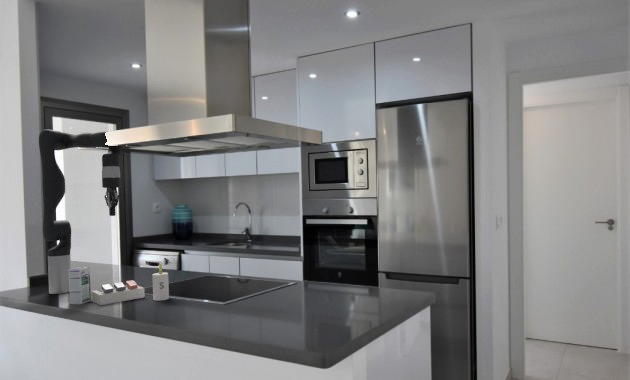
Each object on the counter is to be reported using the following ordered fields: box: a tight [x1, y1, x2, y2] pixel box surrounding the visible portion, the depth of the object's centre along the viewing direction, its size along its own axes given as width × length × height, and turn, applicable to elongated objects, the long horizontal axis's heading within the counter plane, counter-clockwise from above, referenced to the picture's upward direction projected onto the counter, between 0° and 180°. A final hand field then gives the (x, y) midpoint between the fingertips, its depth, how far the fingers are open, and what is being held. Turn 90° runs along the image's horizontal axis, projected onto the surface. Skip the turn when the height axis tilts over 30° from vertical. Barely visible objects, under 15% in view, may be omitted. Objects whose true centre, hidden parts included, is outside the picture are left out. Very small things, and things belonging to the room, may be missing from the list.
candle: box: [151, 262, 170, 301], centre depth 199 cm, size 6×6×15 cm
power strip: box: [90, 285, 153, 306], centre depth 203 cm, size 12×24×5 cm, turn 131°
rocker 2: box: [113, 281, 127, 291], centre depth 200 cm, size 5×3×2 cm, turn 41°
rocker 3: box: [125, 280, 139, 289], centre depth 203 cm, size 5×3×2 cm, turn 41°
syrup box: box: [68, 266, 92, 305], centre depth 197 cm, size 6×6×14 cm
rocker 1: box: [101, 283, 114, 293], centre depth 196 cm, size 5×3×2 cm, turn 41°
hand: (112, 215), depth 211 cm, fingers closed
